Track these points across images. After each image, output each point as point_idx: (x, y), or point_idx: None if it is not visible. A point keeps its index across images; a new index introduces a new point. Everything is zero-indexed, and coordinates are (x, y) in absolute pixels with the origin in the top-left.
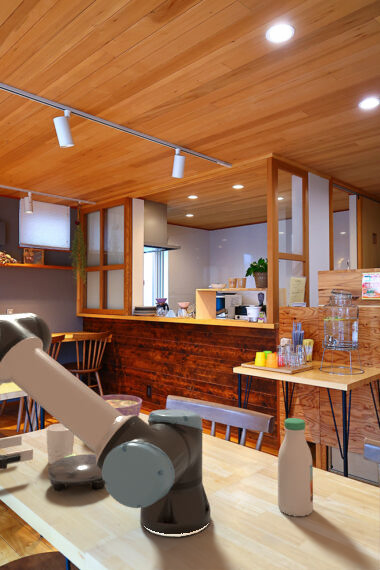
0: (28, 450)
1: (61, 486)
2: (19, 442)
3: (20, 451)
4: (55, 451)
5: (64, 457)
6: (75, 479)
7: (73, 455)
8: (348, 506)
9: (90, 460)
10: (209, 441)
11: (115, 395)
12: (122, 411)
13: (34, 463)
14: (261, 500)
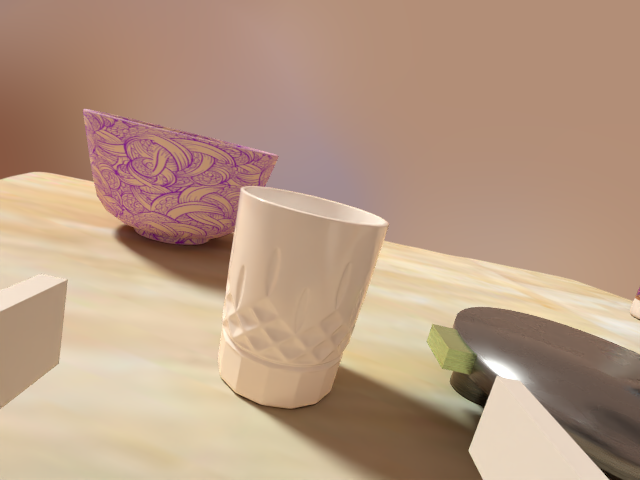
0: (540, 408)
1: None
2: (46, 347)
3: (595, 464)
4: (341, 335)
5: (452, 354)
6: None
7: (449, 332)
8: None
9: (531, 334)
10: None
11: (133, 120)
12: (270, 167)
13: (195, 450)
14: (631, 323)
